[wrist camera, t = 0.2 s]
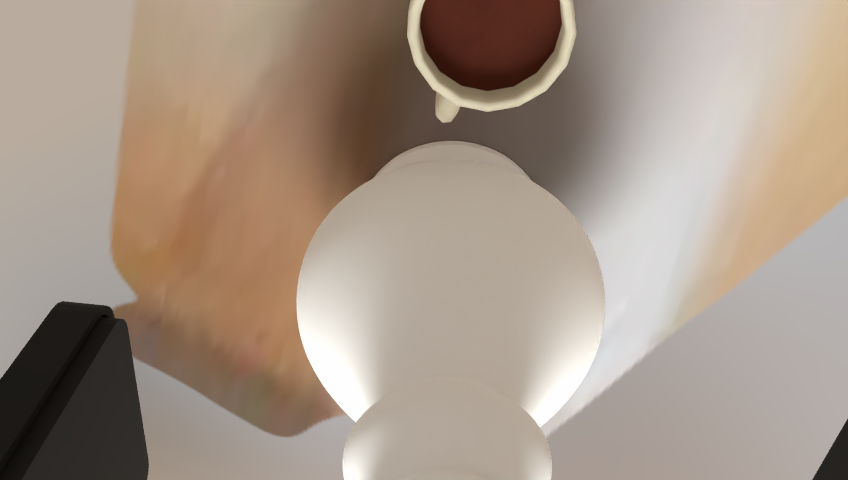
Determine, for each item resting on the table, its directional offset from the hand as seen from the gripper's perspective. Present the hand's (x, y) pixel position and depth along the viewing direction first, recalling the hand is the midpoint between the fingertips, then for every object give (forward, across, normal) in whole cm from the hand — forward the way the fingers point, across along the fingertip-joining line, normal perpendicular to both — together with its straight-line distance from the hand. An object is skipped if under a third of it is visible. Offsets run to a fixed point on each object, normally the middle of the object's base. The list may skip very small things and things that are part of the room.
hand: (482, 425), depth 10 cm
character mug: (+37, -1, +2) cm, 37 cm away
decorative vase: (+37, -2, +20) cm, 42 cm away
